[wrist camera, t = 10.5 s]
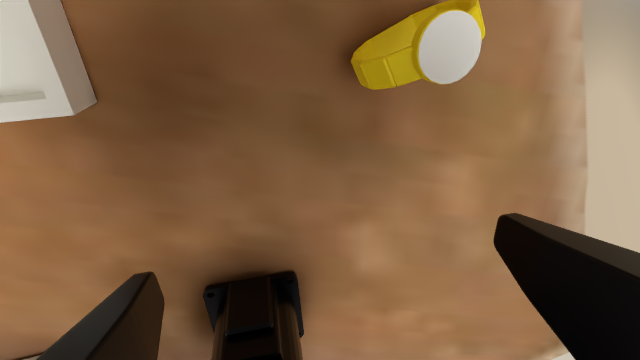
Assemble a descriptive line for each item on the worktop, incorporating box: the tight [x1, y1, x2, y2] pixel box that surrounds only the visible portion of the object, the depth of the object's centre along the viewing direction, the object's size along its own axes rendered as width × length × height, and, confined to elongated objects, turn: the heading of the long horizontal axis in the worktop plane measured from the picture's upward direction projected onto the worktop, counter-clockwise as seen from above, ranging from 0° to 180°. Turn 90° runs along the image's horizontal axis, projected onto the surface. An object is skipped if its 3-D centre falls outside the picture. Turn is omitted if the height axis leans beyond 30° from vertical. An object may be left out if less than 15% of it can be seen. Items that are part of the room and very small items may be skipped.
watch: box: [351, 0, 486, 90], centre depth 16 cm, size 6×3×6 cm, turn 117°
